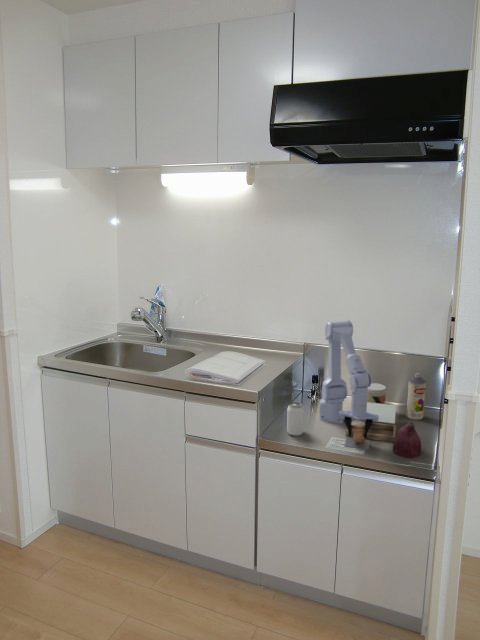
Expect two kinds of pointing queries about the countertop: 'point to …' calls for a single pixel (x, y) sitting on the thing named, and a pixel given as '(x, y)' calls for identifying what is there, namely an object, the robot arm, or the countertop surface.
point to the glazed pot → (357, 422)
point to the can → (295, 419)
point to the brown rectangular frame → (379, 432)
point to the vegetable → (407, 442)
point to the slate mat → (357, 444)
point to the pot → (358, 432)
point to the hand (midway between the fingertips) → (357, 436)
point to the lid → (382, 412)
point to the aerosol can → (416, 397)
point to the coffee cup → (376, 393)
